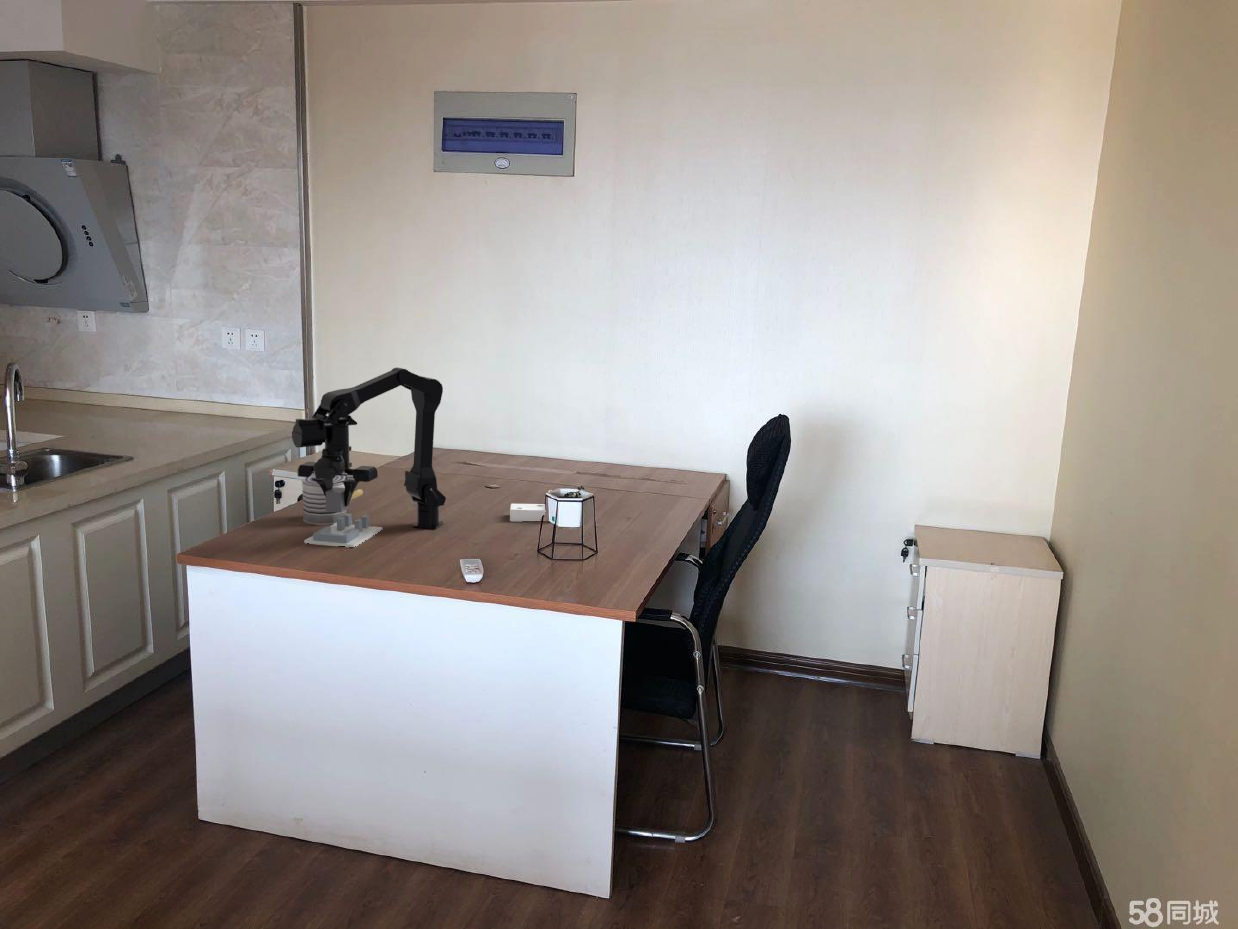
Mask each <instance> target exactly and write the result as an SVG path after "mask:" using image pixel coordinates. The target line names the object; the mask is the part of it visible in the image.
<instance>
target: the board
mask: <svg viewBox="0 0 1238 929" xmlns="http://www.w3.org/2000/svg"><path fill="white" fill-rule="evenodd" d="M381 530H382V531H383V526H371V525H370V515H369V514H368V515H367V514H364V515H362V516H361V518H357V519H355V520H354V524H353V514H352V513H347V514H346V515H344V518H342V517H340V518H338V519H337V523H335V524H333V525H325V526H324V527H322V528H320V529H319V530H316V531H315V532H312V533H313V534H312V535H311V536H309V537H307V538H306V539H304V544H307V543H309V544H308V545H318V546H330V547H338V546H345V547H344V548H349V547H355V546H356V547H358V546H360V545H361V544H363V543H364V542H366V541H367V540H369V539H371V538H373V537H374V536H376V535H377V534H378V532H379V533H380V531H381ZM382 531H381V532H382ZM375 534H376V535H375ZM373 535H374V536H373ZM365 540H366V541H365ZM362 542H363V543H362ZM359 544H360V545H359ZM356 547H355V548H356Z"/></svg>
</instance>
